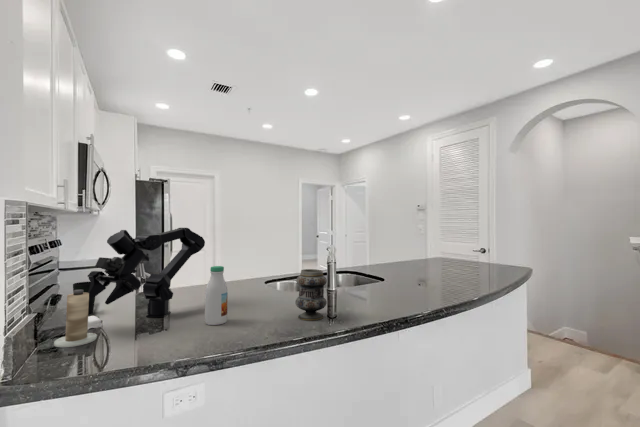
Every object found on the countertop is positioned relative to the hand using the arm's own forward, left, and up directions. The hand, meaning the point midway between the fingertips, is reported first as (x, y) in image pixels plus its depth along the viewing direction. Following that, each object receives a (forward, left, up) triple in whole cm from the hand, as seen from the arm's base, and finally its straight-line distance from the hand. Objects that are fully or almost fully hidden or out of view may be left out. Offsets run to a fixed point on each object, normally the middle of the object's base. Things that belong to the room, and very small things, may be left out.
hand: (95, 302), depth 99 cm
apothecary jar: (-67, -23, -10) cm, 72 cm away
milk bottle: (-33, -15, -10) cm, 38 cm away
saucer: (+2, +5, -10) cm, 12 cm away
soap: (+9, -9, -11) cm, 17 cm away
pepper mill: (+2, +5, -9) cm, 11 cm away
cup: (+21, -23, -10) cm, 33 cm away
